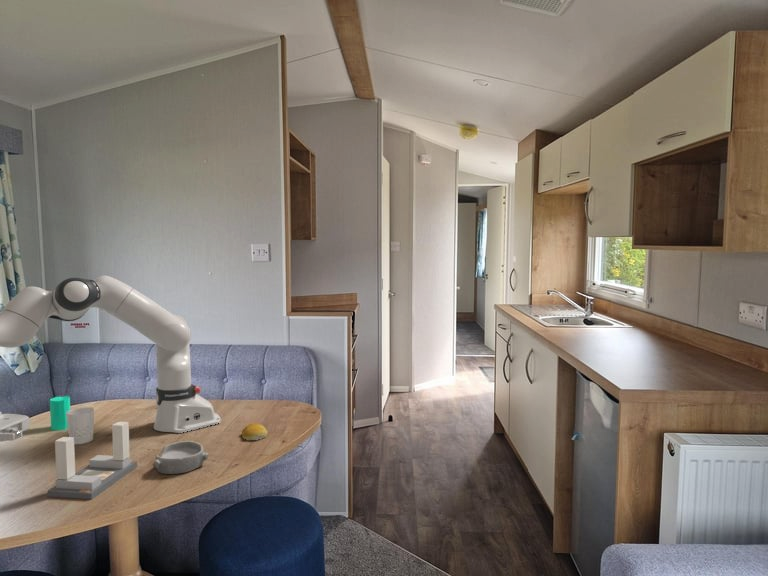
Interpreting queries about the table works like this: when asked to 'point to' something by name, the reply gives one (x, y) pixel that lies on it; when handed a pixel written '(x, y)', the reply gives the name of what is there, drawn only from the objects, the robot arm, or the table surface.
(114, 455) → the rear knob
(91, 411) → the white cup
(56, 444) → the front knob
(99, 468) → the switch box
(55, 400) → the candle
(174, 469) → the dish
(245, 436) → the bread roll
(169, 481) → the table surface
